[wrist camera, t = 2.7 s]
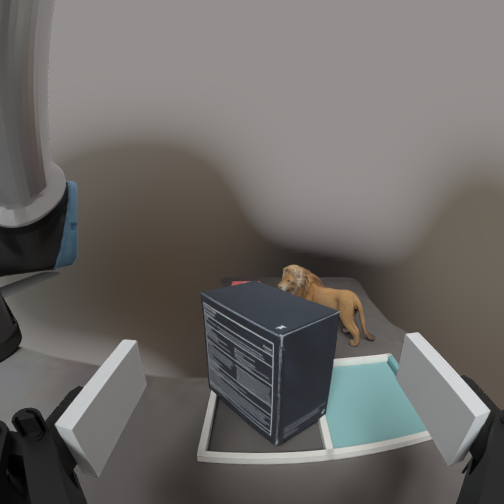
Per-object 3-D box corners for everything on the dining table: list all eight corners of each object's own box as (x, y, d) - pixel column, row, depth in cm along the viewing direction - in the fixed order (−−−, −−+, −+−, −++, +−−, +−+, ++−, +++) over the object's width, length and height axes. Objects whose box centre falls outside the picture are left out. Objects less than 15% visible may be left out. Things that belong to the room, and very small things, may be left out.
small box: (331, 412, 23) (345, 308, 21) (276, 449, 20) (280, 338, 17) (257, 366, 32) (256, 276, 29) (206, 387, 28) (196, 291, 26)
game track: (197, 461, 19) (196, 455, 19) (218, 367, 33) (218, 361, 33) (439, 436, 18) (442, 430, 18) (389, 358, 32) (390, 353, 32)
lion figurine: (272, 327, 43) (272, 267, 41) (290, 314, 47) (291, 259, 45) (369, 351, 35) (379, 284, 33) (379, 333, 39) (387, 273, 37)
